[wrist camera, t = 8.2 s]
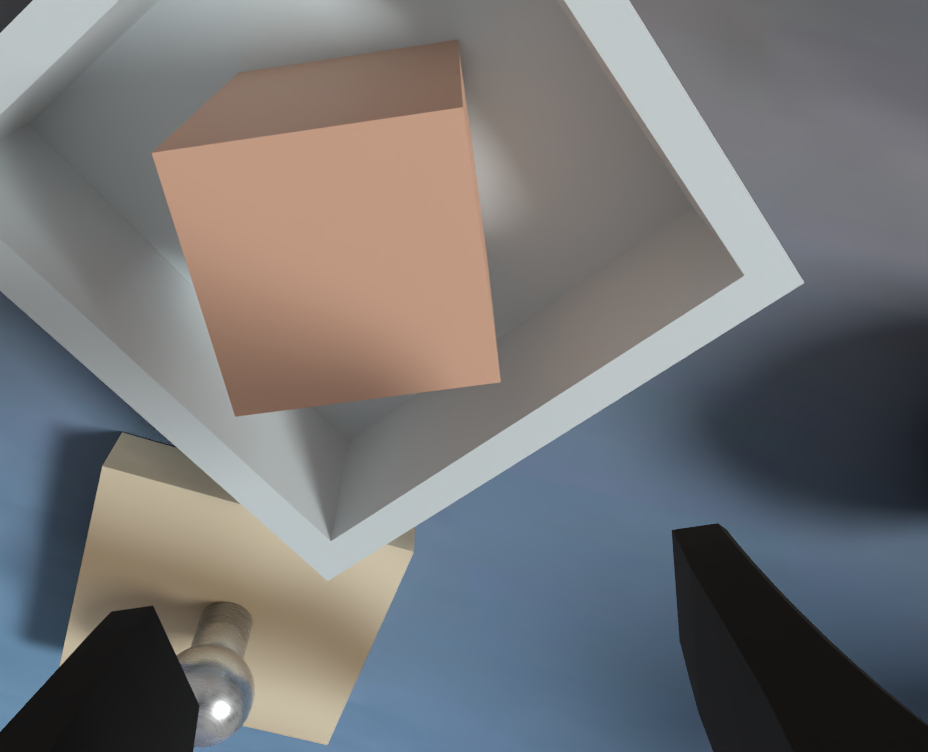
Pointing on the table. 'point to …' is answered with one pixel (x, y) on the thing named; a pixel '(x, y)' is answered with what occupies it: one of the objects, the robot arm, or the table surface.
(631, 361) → the bin
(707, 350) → the table surface
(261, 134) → the block
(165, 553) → the base
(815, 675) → the robot arm
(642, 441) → the table surface
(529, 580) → the table surface
